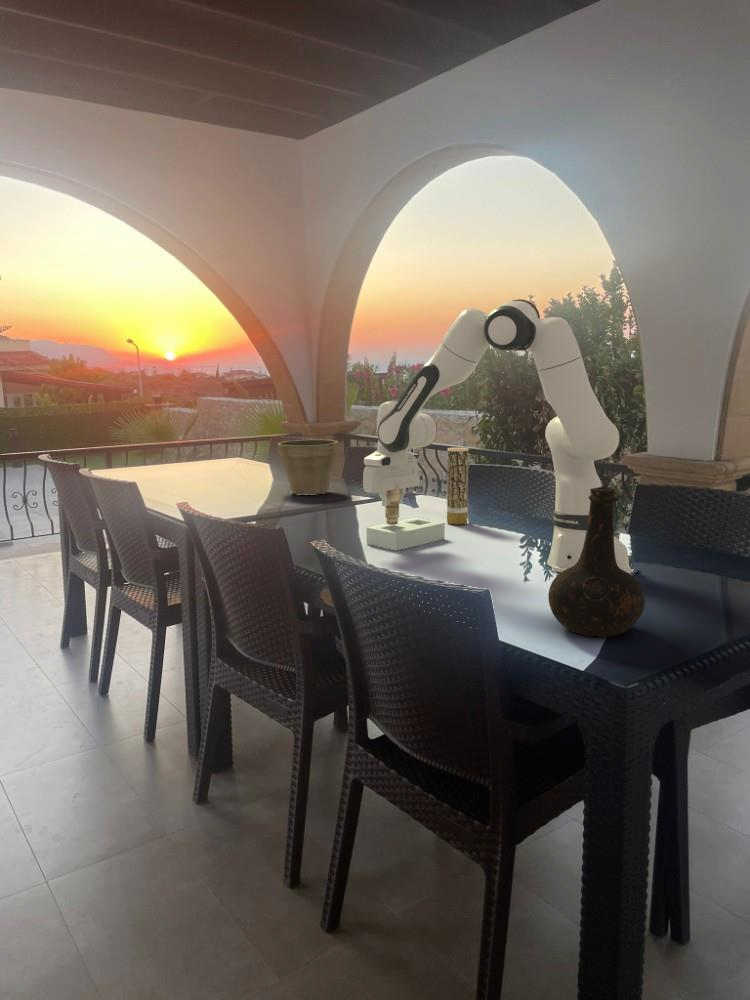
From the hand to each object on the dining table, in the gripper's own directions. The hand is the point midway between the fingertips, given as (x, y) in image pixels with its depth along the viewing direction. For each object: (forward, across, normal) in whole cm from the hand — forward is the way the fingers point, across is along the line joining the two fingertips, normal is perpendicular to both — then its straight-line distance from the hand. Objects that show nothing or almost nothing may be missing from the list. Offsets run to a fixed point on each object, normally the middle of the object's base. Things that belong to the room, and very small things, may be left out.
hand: (392, 504), depth 211 cm
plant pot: (+12, -42, -90) cm, 100 cm away
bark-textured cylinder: (+12, -37, -6) cm, 39 cm away
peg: (+6, 0, 0) cm, 6 cm away
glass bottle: (+12, +24, +78) cm, 82 cm away
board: (+12, -6, 0) cm, 13 cm away
